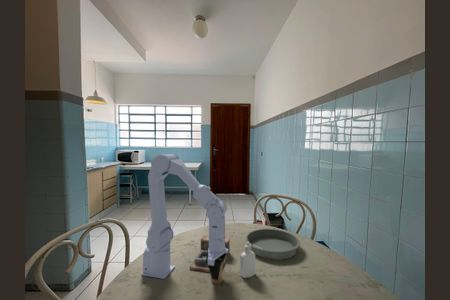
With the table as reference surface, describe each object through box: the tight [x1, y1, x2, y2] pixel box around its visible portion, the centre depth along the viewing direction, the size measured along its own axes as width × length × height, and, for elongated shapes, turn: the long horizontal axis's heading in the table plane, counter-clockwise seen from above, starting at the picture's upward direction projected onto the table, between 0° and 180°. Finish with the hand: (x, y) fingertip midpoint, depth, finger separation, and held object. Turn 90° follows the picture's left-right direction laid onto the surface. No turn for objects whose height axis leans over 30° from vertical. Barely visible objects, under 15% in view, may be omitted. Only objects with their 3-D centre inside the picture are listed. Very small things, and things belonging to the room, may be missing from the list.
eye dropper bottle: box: [239, 241, 256, 279], centre depth 77 cm, size 4×6×12 cm
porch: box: [189, 235, 231, 273], centre depth 87 cm, size 12×16×6 cm
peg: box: [210, 258, 224, 285], centre depth 74 cm, size 4×4×7 cm
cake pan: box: [245, 228, 301, 260], centre depth 99 cm, size 25×25×4 cm
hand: (216, 275), depth 74 cm, fingers closed on peg, 4 cm apart
